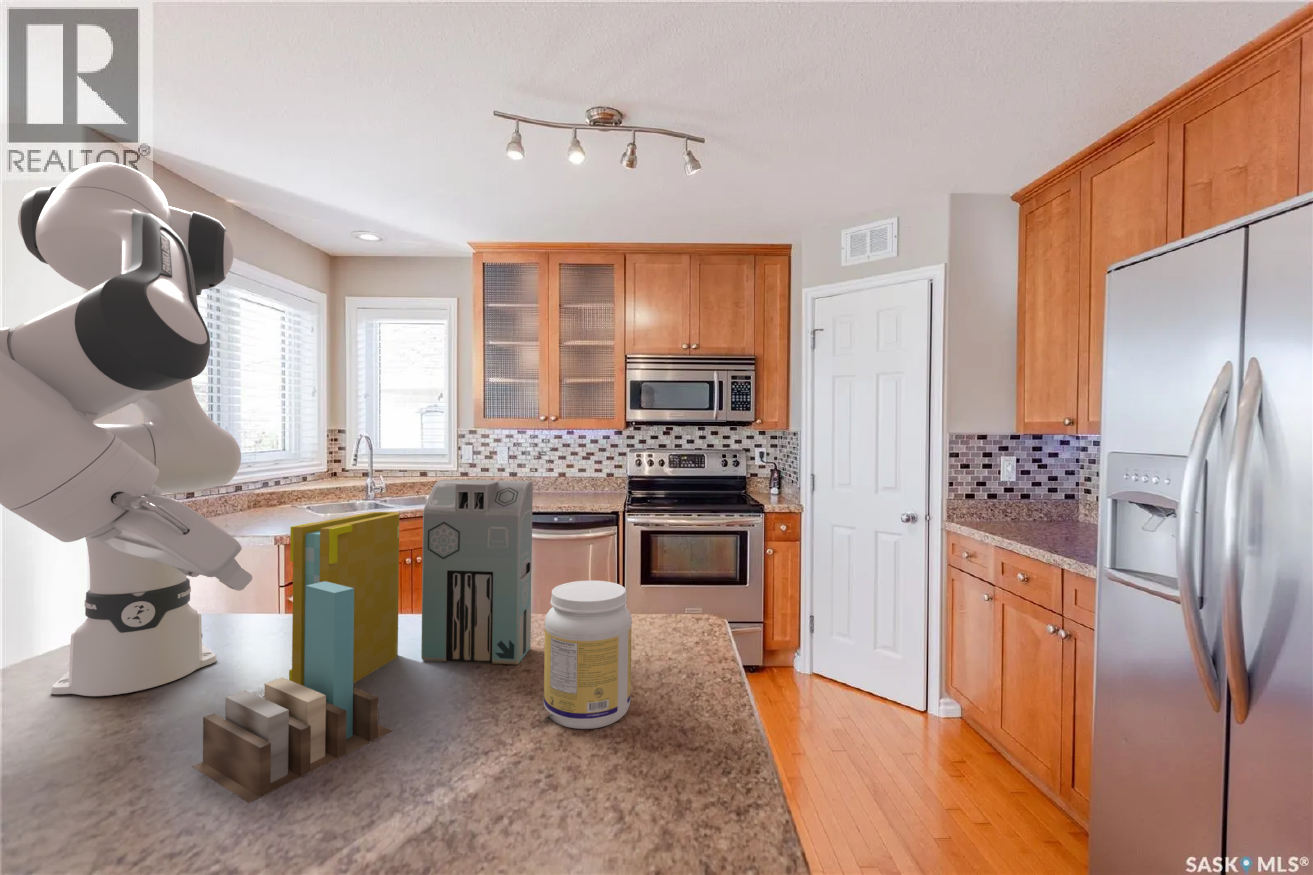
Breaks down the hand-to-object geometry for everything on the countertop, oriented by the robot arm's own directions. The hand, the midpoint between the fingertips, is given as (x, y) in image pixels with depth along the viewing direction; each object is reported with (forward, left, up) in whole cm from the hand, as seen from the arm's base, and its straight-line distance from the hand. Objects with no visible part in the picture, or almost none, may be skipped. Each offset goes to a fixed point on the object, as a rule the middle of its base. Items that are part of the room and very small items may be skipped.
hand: (220, 577), depth 59 cm
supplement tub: (+8, +41, -23) cm, 48 cm away
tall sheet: (-4, +11, -22) cm, 24 cm away
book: (-22, +18, -23) cm, 36 cm away
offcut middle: (-2, +7, -22) cm, 23 cm away
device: (-20, +37, -23) cm, 48 cm away
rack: (-3, +8, -23) cm, 24 cm away
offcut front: (-1, +3, -22) cm, 22 cm away
